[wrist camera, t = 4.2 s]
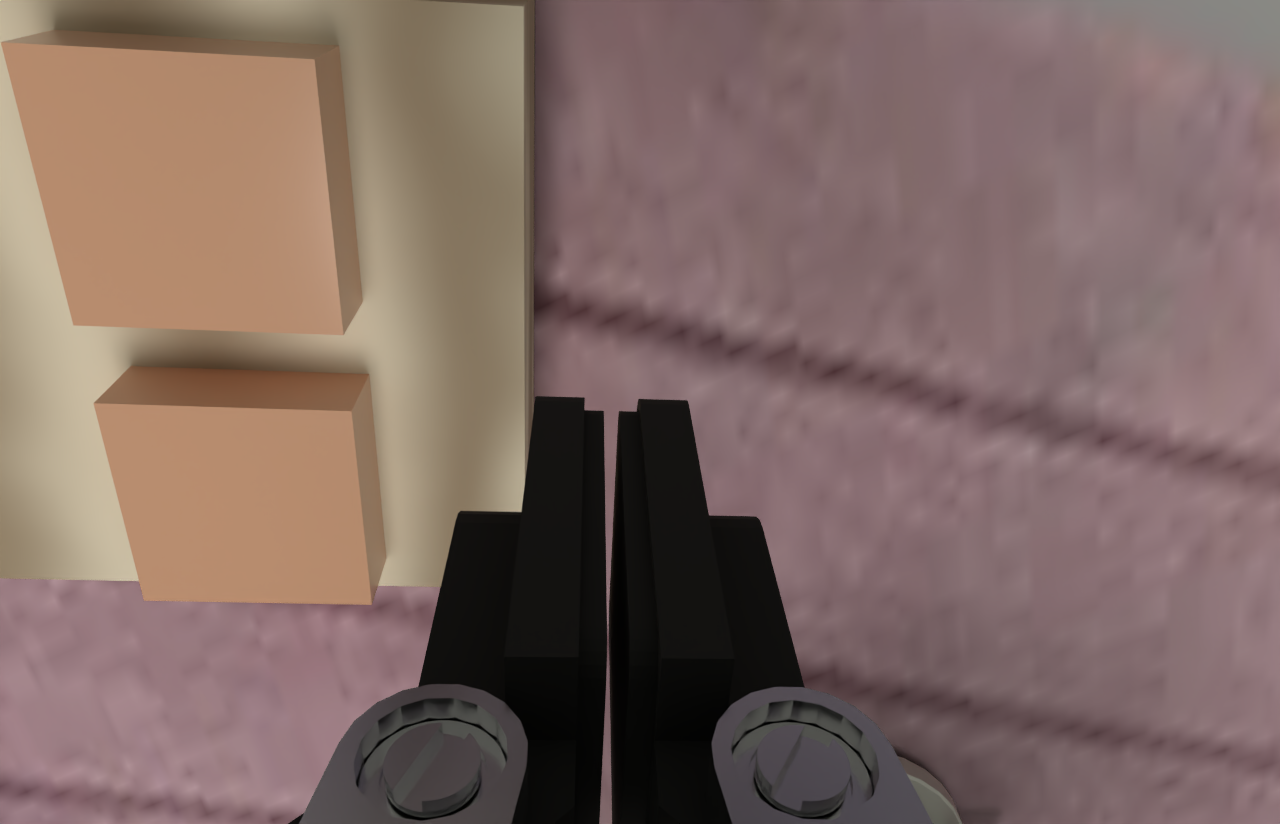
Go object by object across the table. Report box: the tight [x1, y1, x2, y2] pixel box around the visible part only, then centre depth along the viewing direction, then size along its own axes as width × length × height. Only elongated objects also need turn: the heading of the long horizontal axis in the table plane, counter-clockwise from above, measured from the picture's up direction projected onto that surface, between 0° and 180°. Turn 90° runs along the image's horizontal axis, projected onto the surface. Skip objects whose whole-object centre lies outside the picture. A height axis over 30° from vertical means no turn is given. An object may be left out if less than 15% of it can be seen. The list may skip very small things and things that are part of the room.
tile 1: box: [1, 30, 363, 335], centre depth 21 cm, size 6×6×2 cm
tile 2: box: [93, 366, 387, 605], centre depth 24 cm, size 6×6×2 cm
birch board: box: [0, 0, 535, 587], centre depth 25 cm, size 16×16×4 cm
